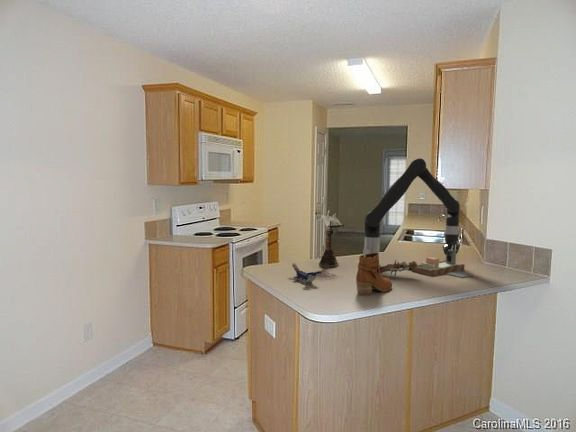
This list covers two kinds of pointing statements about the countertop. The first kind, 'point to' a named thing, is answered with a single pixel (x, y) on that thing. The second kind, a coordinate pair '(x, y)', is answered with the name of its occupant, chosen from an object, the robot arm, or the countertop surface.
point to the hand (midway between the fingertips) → (450, 261)
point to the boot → (370, 275)
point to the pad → (459, 274)
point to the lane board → (438, 269)
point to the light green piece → (444, 264)
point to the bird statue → (329, 241)
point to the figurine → (398, 267)
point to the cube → (433, 261)
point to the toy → (305, 275)
